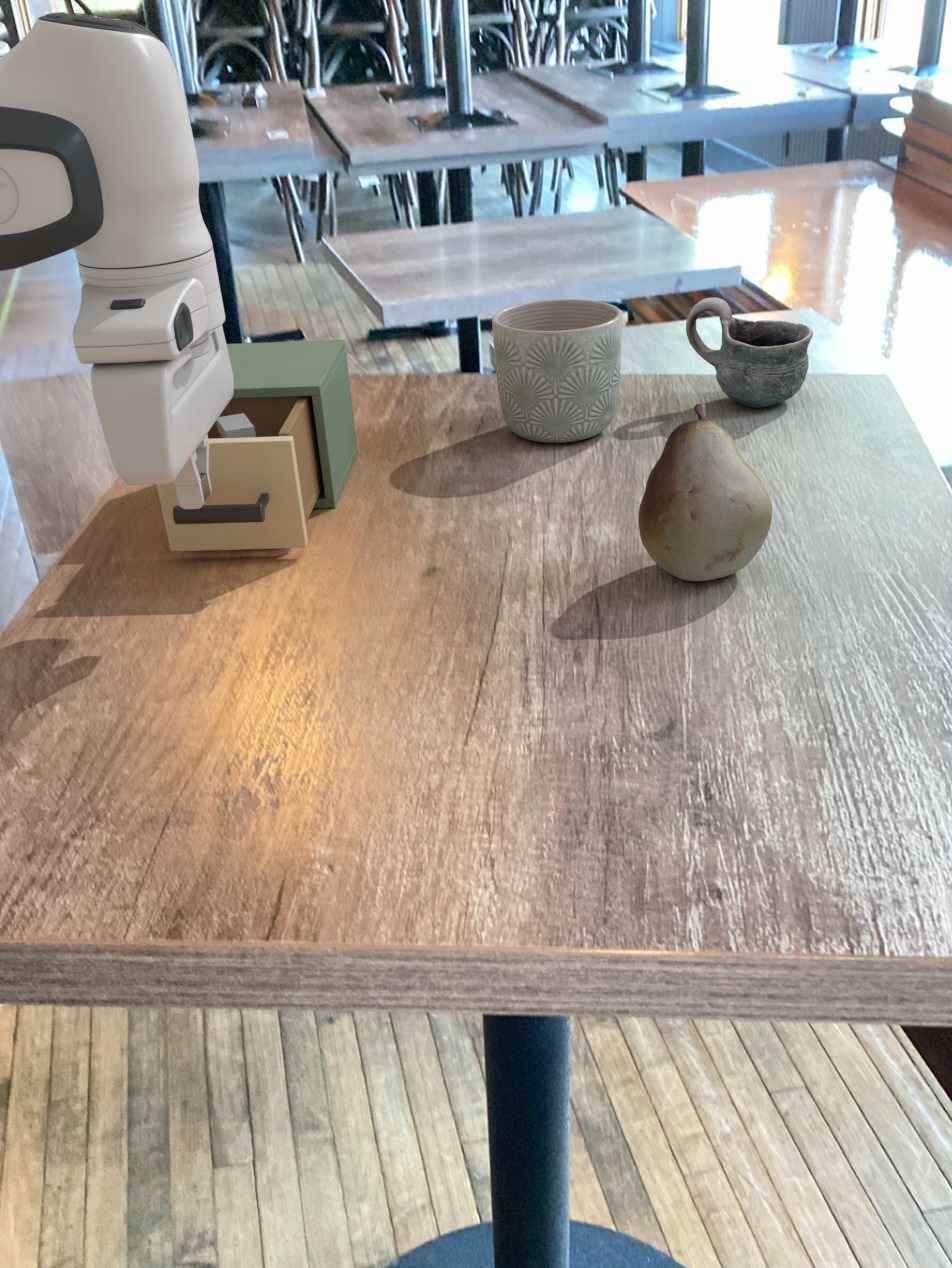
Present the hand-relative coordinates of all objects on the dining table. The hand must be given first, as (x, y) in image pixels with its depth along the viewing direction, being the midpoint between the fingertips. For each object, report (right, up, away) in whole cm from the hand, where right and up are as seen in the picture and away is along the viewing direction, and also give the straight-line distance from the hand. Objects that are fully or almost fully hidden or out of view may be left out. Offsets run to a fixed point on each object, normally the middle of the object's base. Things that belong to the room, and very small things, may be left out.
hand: (196, 502), depth 97 cm
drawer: (+1, +3, +16) cm, 16 cm away
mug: (+47, +22, +39) cm, 65 cm away
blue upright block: (+1, +4, +16) cm, 17 cm away
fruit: (+38, -4, +7) cm, 39 cm away
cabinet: (+2, +10, +27) cm, 29 cm away
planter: (+28, +18, +35) cm, 48 cm away
